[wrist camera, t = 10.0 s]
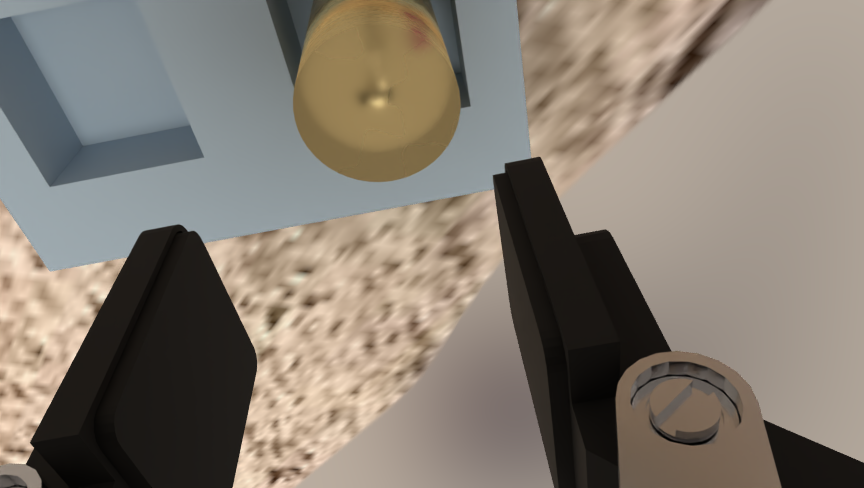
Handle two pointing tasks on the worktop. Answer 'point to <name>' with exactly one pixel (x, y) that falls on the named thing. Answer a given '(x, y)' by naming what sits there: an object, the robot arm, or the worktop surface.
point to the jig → (211, 121)
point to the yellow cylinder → (375, 88)
